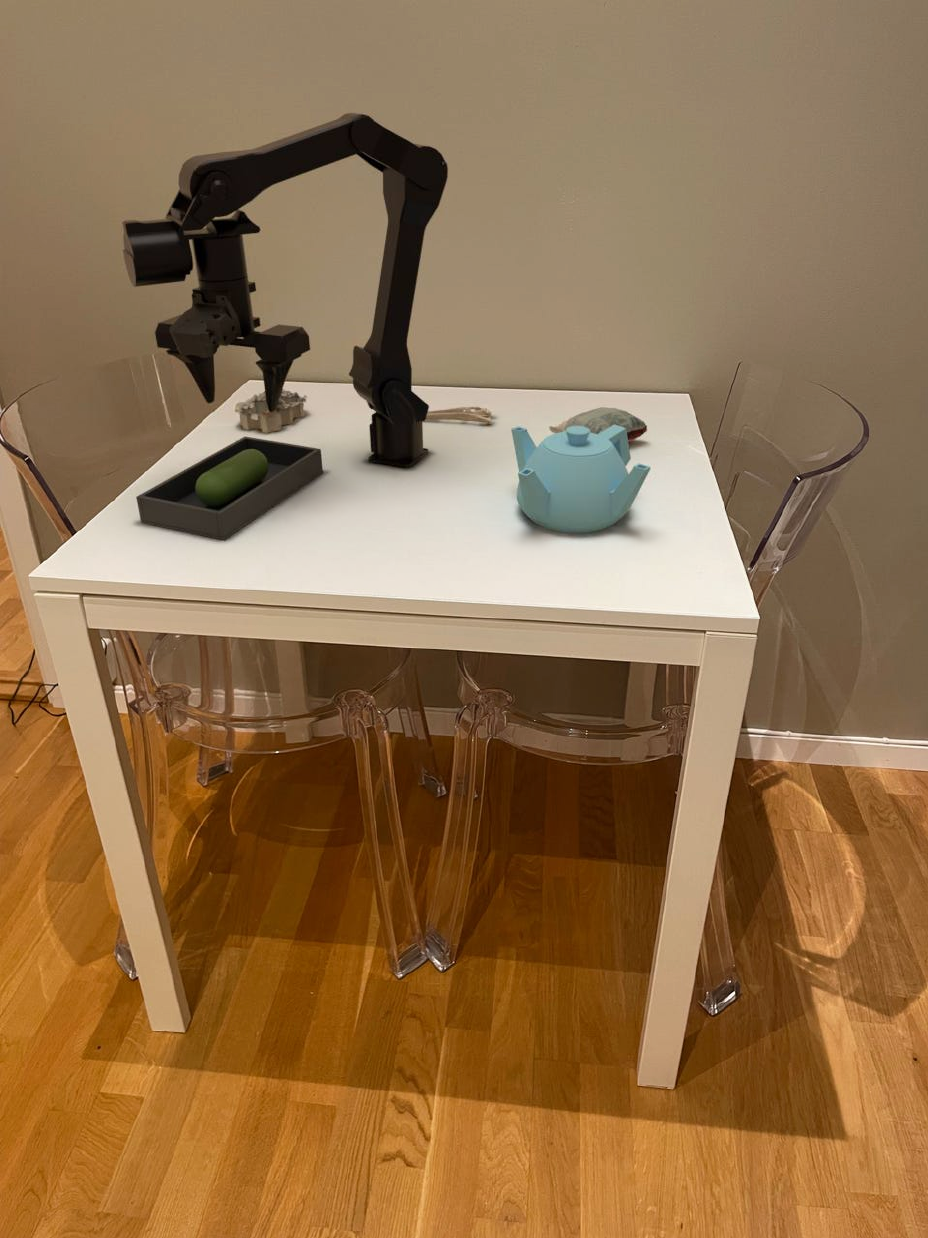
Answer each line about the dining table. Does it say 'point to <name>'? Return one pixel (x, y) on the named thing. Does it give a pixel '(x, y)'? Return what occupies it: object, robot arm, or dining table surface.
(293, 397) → the egg carton
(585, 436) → the teapot
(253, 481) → the squash
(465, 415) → the animal skull
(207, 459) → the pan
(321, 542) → the dining table surface
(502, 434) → the dining table surface
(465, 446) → the dining table surface
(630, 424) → the packaged food
